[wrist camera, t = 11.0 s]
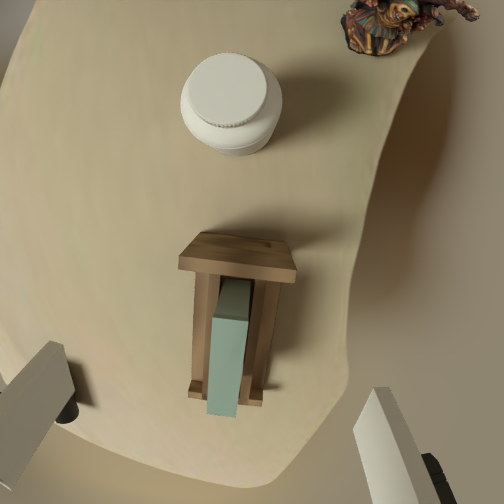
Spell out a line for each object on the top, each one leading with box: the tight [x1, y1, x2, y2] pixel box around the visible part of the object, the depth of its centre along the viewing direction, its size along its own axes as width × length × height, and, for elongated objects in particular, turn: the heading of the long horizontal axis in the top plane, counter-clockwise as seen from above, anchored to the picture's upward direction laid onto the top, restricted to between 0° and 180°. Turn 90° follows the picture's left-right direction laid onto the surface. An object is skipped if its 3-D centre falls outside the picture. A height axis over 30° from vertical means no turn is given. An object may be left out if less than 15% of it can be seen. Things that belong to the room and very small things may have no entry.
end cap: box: [55, 394, 79, 424], centre depth 39 cm, size 10×7×7 cm
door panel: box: [207, 278, 251, 418], centre depth 32 cm, size 3×12×10 cm, turn 173°
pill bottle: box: [181, 52, 283, 156], centre depth 25 cm, size 8×8×15 cm
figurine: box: [341, 0, 480, 56], centre depth 20 cm, size 11×9×18 cm
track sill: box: [178, 232, 297, 407], centre depth 33 cm, size 10×22×10 cm, turn 173°
